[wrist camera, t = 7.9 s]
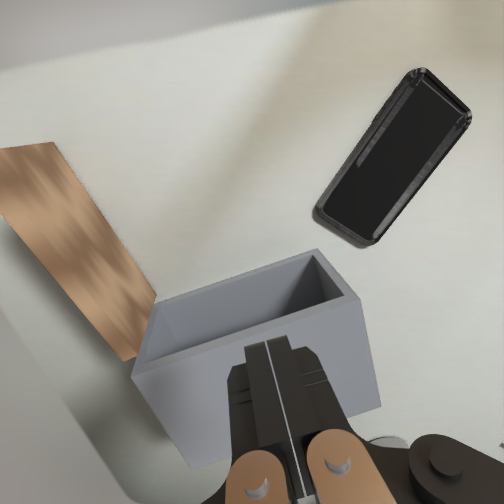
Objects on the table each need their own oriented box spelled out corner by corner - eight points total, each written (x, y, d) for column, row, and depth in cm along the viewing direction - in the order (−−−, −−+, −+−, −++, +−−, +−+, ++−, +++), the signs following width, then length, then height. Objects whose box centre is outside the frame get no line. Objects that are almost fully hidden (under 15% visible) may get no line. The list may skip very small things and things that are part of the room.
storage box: (338, 335, 37) (381, 406, 28) (196, 384, 37) (191, 470, 28) (317, 248, 32) (360, 298, 23) (152, 304, 32) (130, 377, 23)
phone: (477, 116, 28) (371, 249, 32) (467, 116, 29) (366, 245, 33) (418, 60, 26) (312, 212, 30) (410, 62, 27) (309, 209, 31)
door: (156, 294, 31) (137, 355, 23) (137, 303, 32) (111, 367, 23) (53, 141, 25) (-24, 151, 17) (29, 153, 25) (-59, 169, 17)
